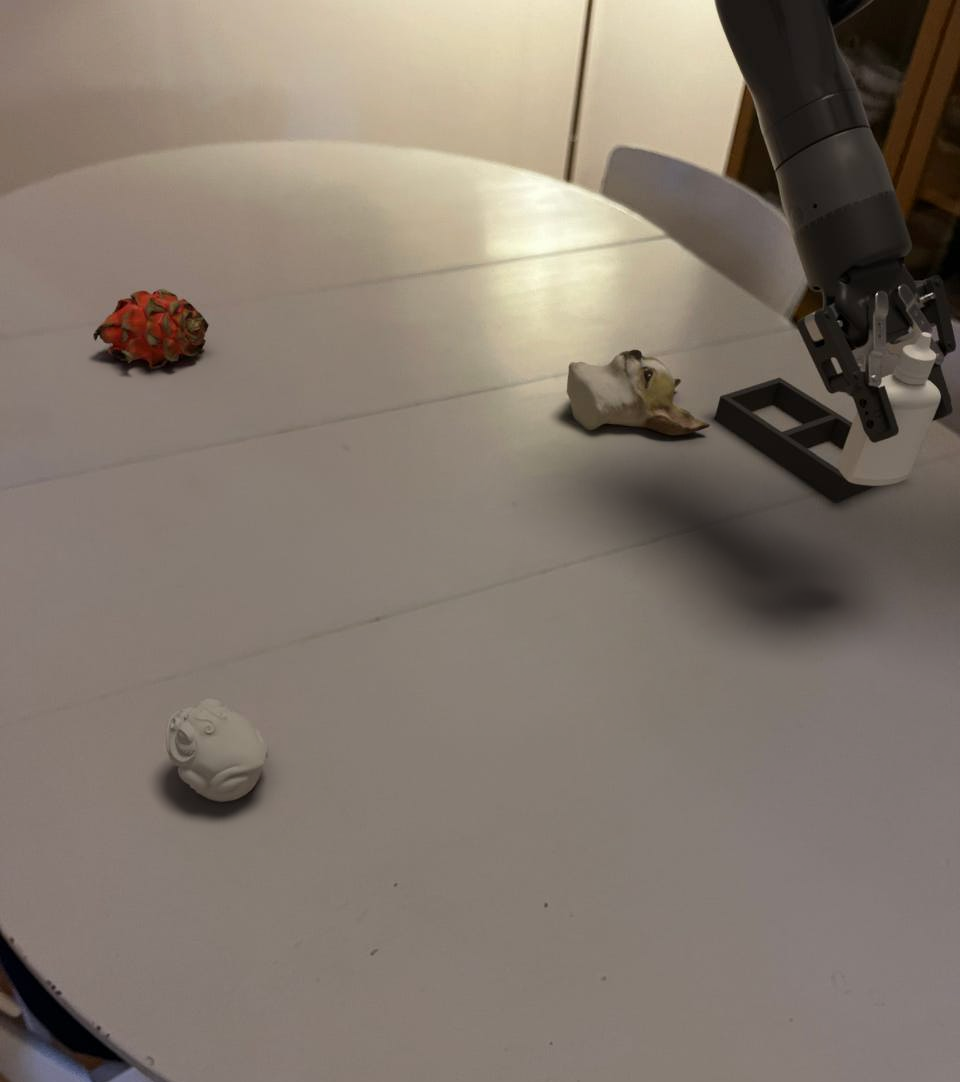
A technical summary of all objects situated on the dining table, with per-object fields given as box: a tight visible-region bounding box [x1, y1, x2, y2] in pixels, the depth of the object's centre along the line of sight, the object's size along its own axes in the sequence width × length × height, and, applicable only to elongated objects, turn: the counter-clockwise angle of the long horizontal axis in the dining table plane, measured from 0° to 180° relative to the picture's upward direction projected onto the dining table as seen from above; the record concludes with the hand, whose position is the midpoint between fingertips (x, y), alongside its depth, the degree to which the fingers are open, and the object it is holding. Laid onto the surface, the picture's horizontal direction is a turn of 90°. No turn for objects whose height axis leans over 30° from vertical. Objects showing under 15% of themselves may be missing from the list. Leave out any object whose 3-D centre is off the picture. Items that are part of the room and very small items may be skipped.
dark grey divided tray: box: [714, 377, 875, 503], centre depth 110 cm, size 9×17×4 cm, turn 34°
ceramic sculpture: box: [566, 349, 711, 437], centre depth 111 cm, size 11×9×15 cm
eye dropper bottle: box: [837, 332, 941, 487], centre depth 80 cm, size 4×6×12 cm
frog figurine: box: [165, 698, 269, 803], centre depth 71 cm, size 6×7×7 cm
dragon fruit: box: [92, 288, 210, 370], centre depth 113 cm, size 8×8×12 cm
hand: (912, 427), depth 79 cm, fingers closed on eye dropper bottle, 5 cm apart
